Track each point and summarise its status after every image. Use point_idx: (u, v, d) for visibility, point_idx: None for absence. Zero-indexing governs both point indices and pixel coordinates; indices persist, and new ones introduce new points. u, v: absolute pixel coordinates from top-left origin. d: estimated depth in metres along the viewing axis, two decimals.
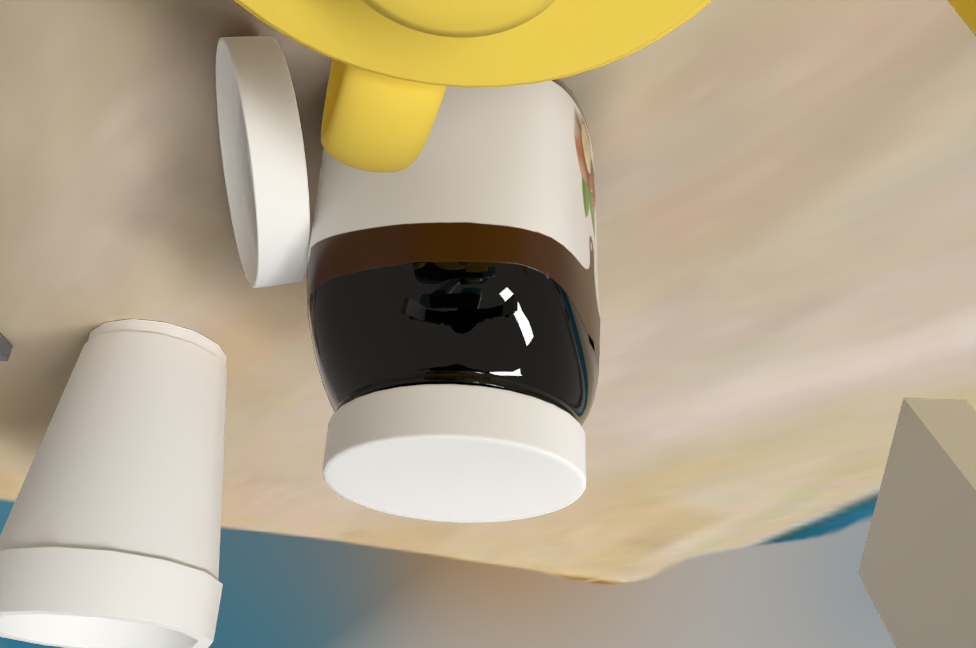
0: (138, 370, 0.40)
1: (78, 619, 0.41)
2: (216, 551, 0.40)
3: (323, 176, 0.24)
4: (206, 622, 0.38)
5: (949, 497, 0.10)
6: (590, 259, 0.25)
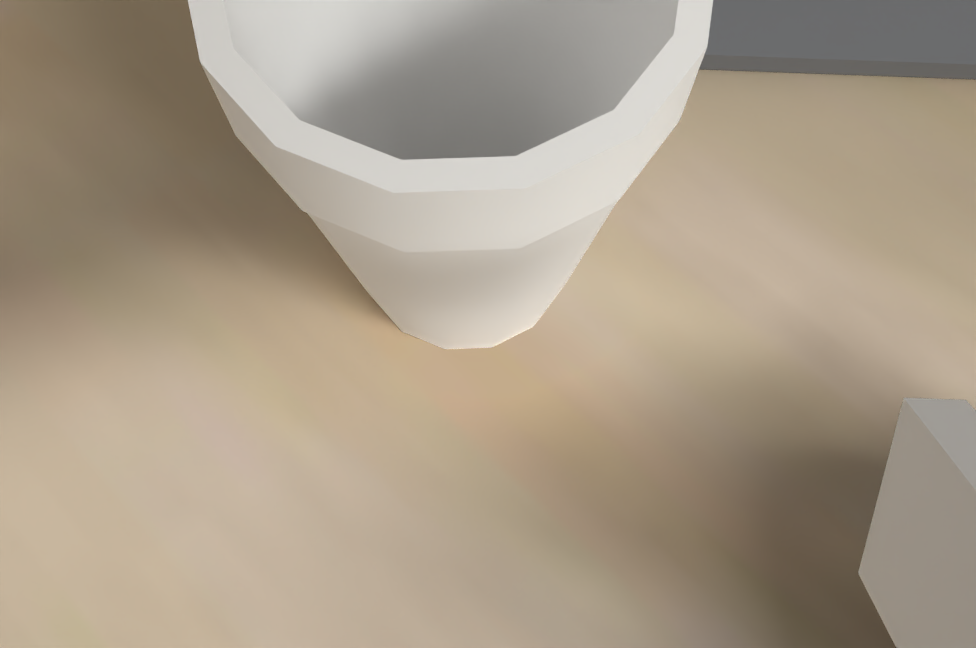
0: None
1: None
2: (429, 261, 0.18)
3: None
4: (461, 206, 0.15)
5: (949, 497, 0.10)
6: None
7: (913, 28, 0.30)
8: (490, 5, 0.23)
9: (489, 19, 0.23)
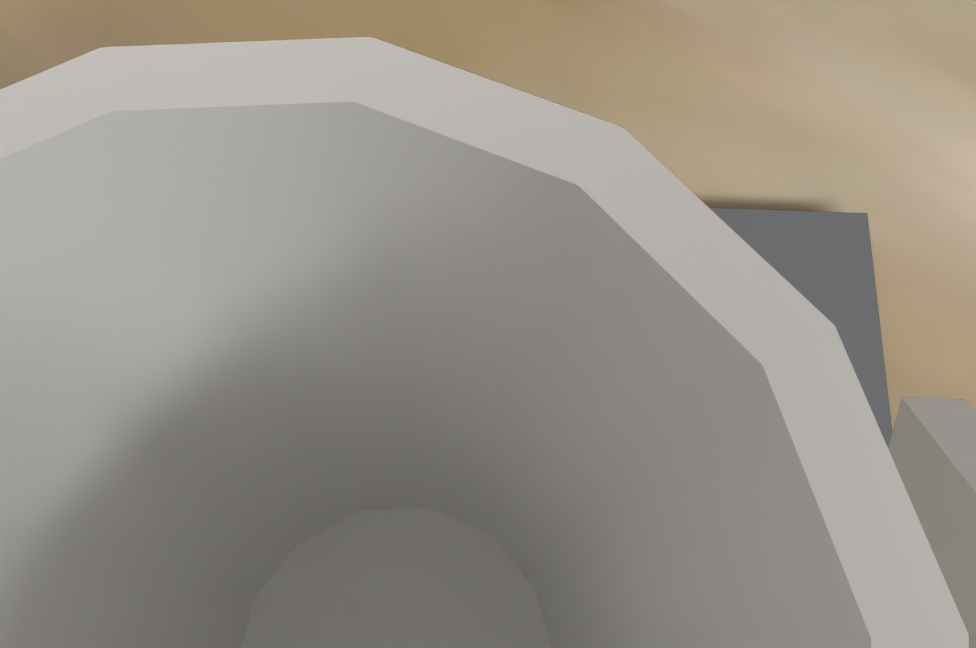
0: None
1: None
2: None
3: None
4: None
5: (947, 497, 0.10)
6: None
7: None
8: (409, 385, 0.12)
9: (412, 399, 0.13)
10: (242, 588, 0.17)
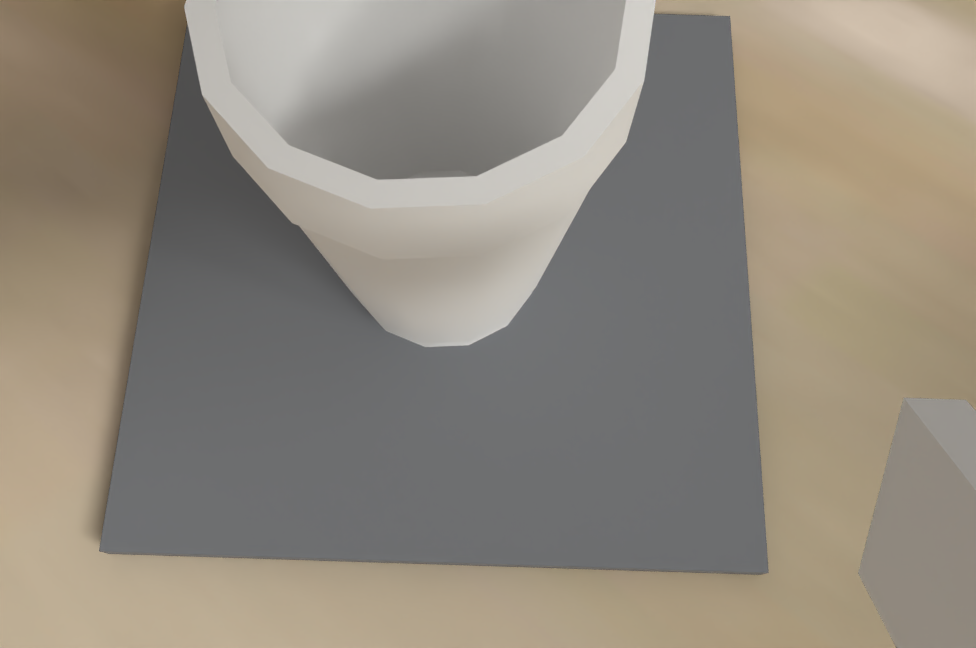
0: None
1: None
2: (405, 267, 0.20)
3: None
4: (431, 219, 0.17)
5: (949, 497, 0.10)
6: None
7: (581, 521, 0.28)
8: (462, 33, 0.25)
9: (463, 46, 0.26)
10: None
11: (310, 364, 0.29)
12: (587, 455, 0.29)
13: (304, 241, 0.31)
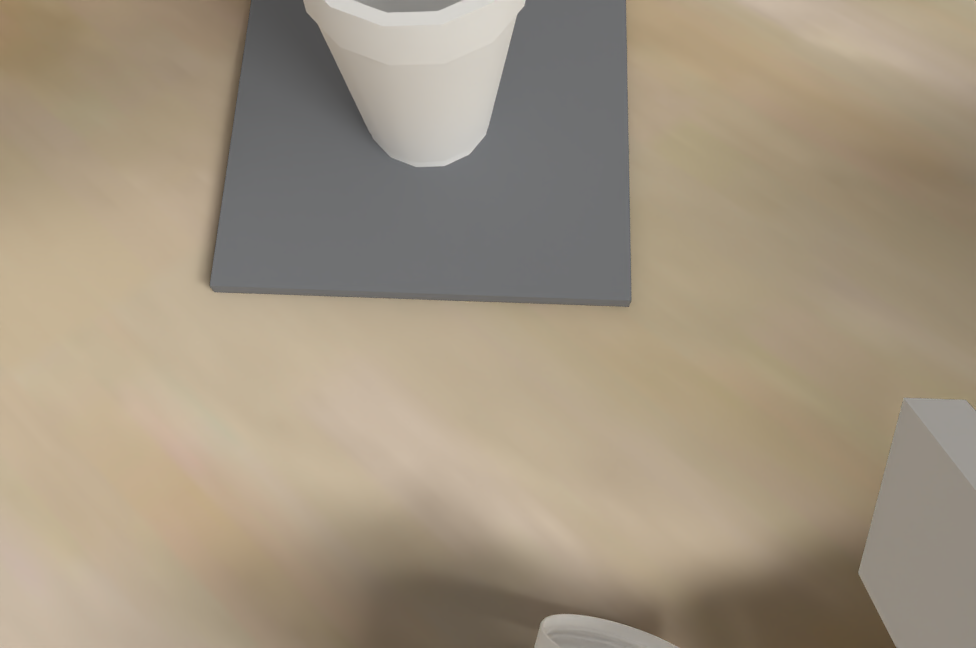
0: None
1: None
2: (402, 77, 0.37)
3: None
4: (414, 35, 0.34)
5: (949, 498, 0.10)
6: None
7: (514, 270, 0.44)
8: None
9: None
10: None
11: (341, 177, 0.46)
12: (519, 232, 0.45)
13: (337, 102, 0.47)
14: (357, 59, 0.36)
